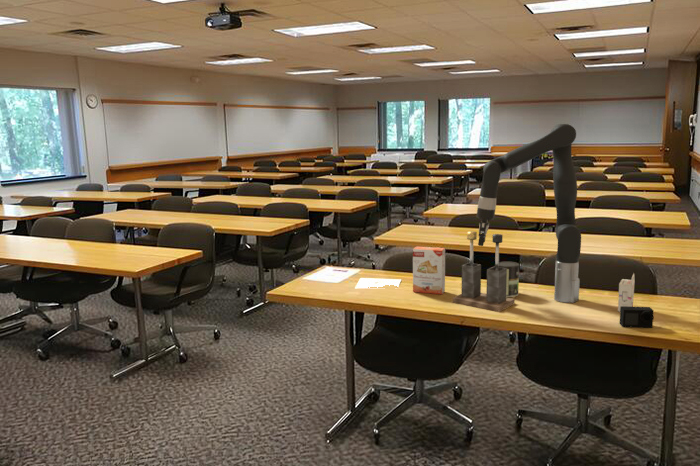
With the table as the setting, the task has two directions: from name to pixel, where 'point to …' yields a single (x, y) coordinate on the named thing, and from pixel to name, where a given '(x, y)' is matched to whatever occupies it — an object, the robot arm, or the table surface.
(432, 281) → the cracker box
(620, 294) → the ink cartridge box
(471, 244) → the plunger brass
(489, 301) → the stand
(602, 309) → the table surface
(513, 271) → the coffee can
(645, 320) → the digital camera
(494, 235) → the plunger black
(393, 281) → the paper sheet
